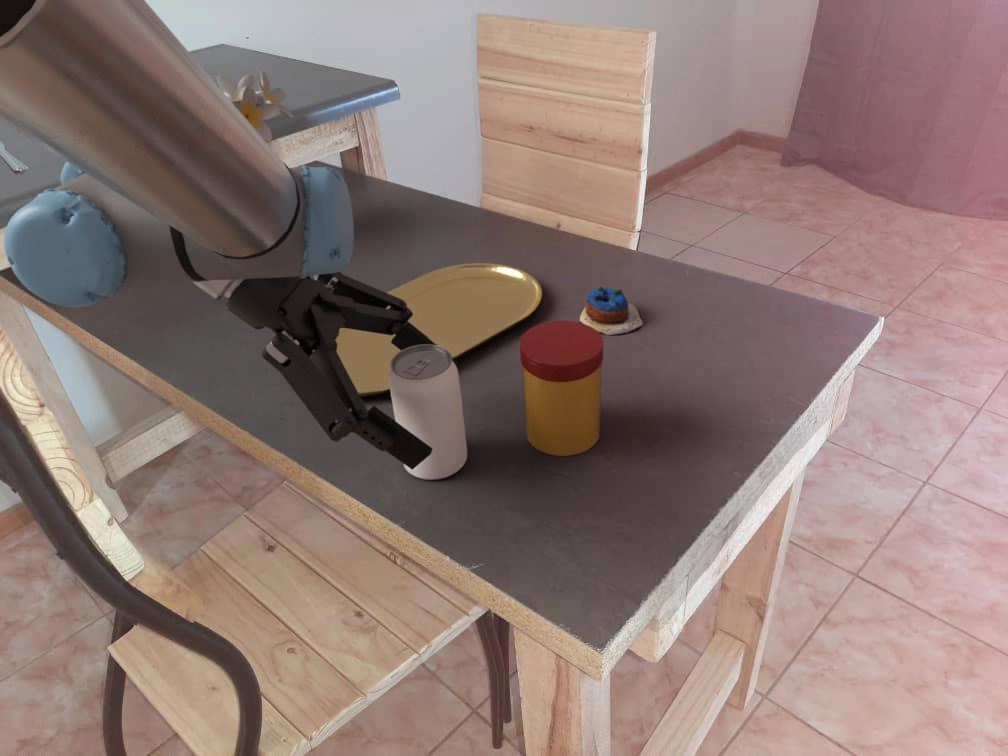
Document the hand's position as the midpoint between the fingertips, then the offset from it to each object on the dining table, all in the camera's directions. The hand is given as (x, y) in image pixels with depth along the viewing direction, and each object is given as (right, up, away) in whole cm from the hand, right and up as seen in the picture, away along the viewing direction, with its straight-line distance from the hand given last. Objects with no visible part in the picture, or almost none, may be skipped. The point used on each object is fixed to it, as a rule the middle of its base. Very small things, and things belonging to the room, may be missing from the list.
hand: (437, 412), depth 74 cm
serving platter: (-4, +9, +24) cm, 26 cm away
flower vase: (-32, +24, +49) cm, 63 cm away
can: (0, -5, +4) cm, 6 cm away
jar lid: (+12, +6, 0) cm, 13 cm away
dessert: (+20, +10, +24) cm, 33 cm away
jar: (+12, -2, +6) cm, 14 cm away
